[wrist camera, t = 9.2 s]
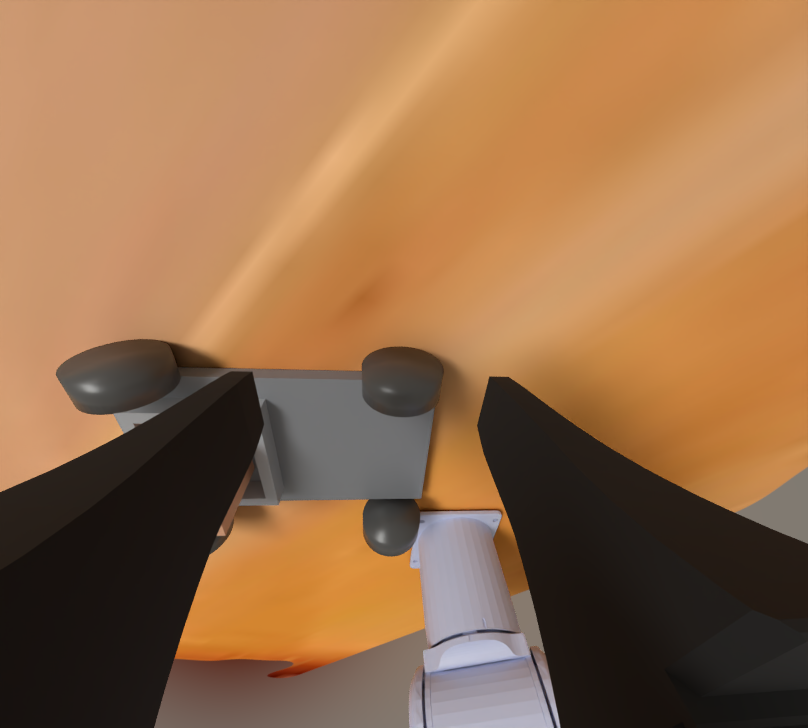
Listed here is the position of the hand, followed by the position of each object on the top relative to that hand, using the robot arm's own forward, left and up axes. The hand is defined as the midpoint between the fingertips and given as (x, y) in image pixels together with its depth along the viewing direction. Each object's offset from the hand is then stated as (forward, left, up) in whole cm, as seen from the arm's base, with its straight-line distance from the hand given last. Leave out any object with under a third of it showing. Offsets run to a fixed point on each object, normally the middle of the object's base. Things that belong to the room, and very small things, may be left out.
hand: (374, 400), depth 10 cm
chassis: (-11, +6, -9) cm, 16 cm away
